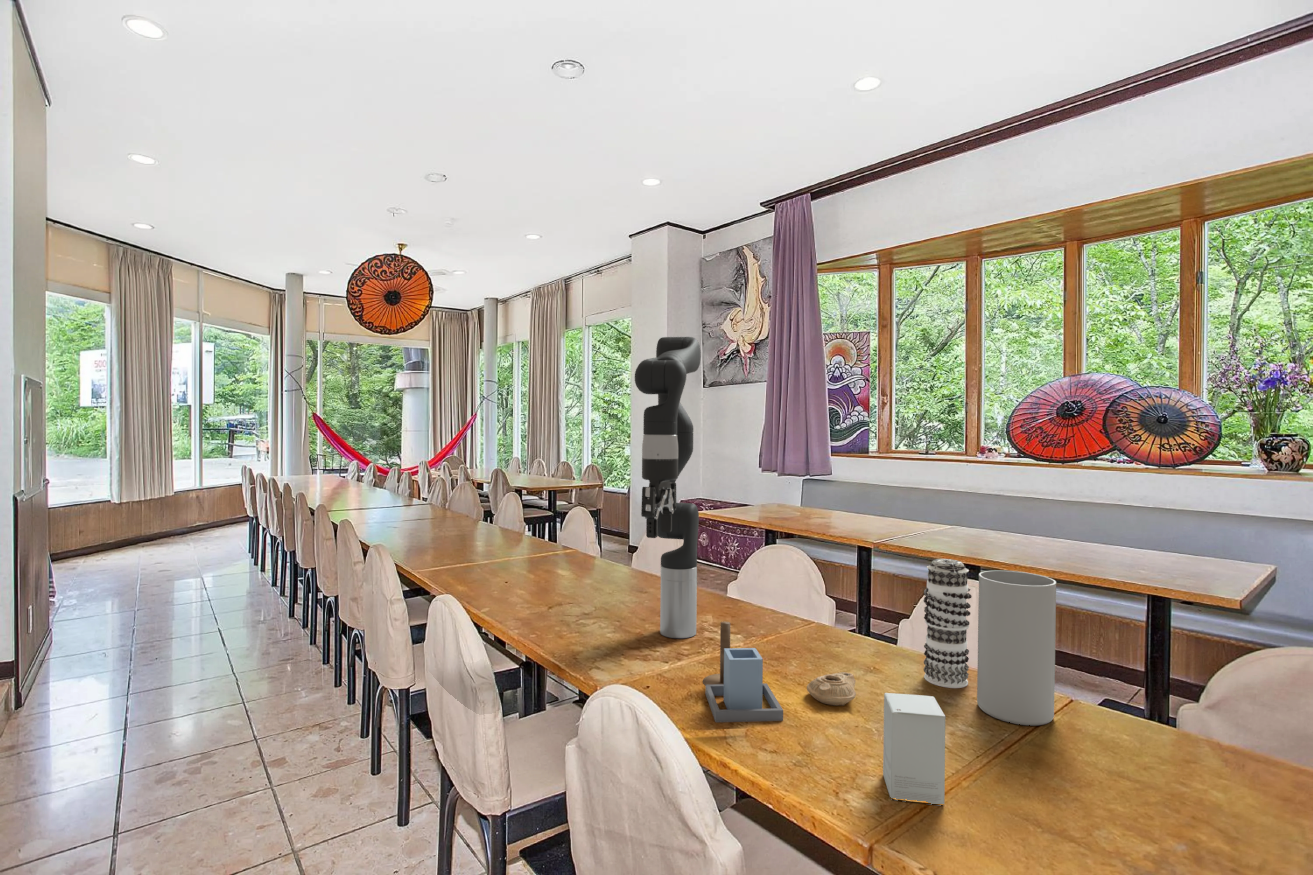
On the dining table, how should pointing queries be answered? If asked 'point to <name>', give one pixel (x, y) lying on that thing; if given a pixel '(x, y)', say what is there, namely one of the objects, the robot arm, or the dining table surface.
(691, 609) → the robot arm
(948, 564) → the decorative candle
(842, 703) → the pottery oil lamp
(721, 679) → the box
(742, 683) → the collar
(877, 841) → the dining table surface
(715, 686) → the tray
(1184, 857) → the dining table surface
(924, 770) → the supplement box
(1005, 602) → the cylinder vase
